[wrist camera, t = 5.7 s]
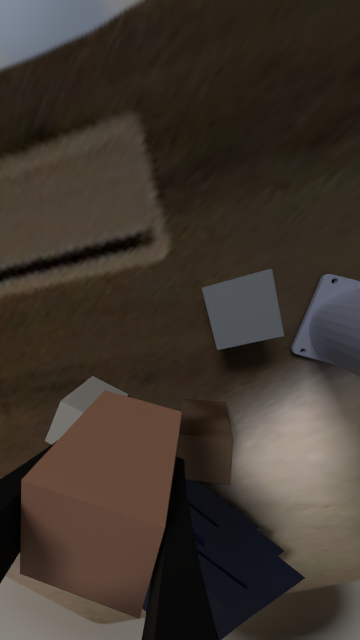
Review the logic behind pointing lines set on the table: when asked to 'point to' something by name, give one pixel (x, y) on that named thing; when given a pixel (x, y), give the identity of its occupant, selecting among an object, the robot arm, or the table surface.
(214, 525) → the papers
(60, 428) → the offwhite cube
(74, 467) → the terracotta cube
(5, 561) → the robot arm
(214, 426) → the walnut cube
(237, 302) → the slate cube
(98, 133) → the table surface
